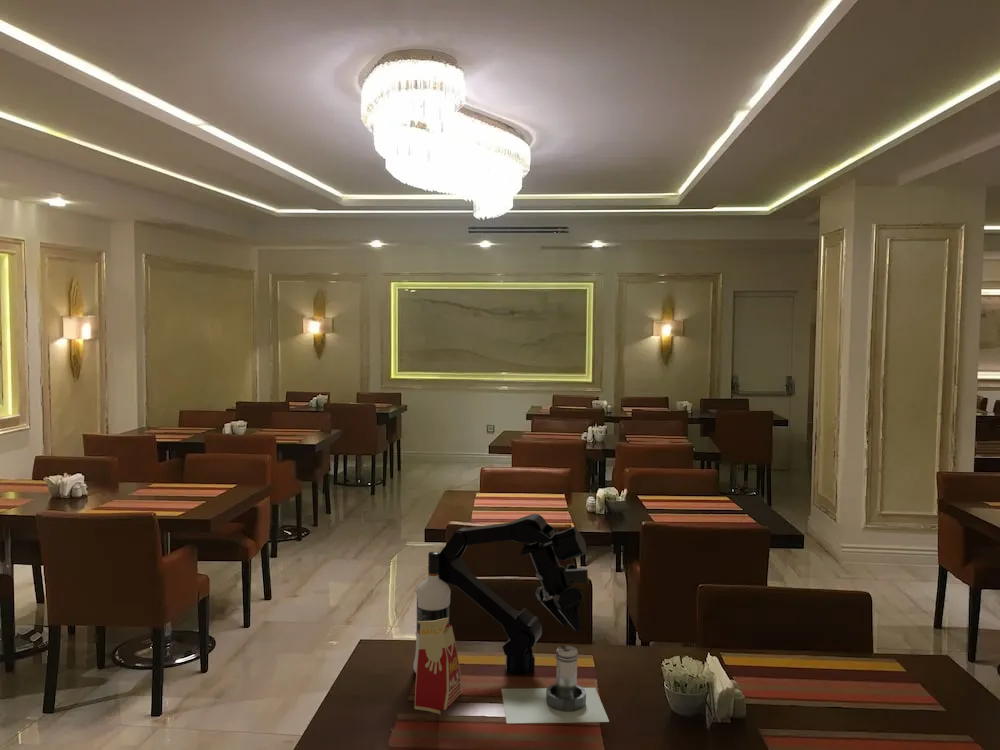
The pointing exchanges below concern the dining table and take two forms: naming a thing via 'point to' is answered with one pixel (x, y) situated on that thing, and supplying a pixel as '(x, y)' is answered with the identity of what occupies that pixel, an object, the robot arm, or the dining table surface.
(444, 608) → the vodka
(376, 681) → the dining table surface
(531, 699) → the plate
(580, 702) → the ring collar
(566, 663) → the silver upright cylinder
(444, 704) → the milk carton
